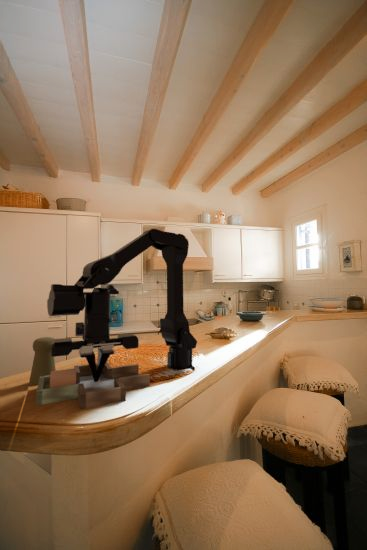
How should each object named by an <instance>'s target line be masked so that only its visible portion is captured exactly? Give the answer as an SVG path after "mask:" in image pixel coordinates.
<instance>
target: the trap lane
mask: <svg viewBox="0 0 367 550" xmlns="http://www.w3.org/2000/svg"><path fill="white" fill-rule="evenodd" d="M96 367H97V362H96ZM139 367H140V366H139V364H138V363H135V364H126V365H119V366H112V367H111V365H110V363H109V361H107V362H106V364H105V365H104V368H103V370H102V373H101V375H100V378H99V380H98V382H94V380H93V376H92V373H91V370H90V366H89V364H88V363H87V364H80V365H78V364H77V365H74V366H73V369H74V368H75V371H76V384H75V385H68V386H61V387H55V388H50V375H47V376H40V378H39V383H38V385H37V387H36V393H35V407H36V406H42V405H48V404H54V403H59V402H65V401H70V400H75V399H78V400H77V401H78V406H79V410H84V409H90V408H95V407H99V406H105V405H109V404H110V405H111V404H114V403H115V404H116V403H120V402H126V399H127V398H126V395H127V394H126V393H127V390H133V389H139V388H145V387H146V388H147V387H151V386H150V385H151V384H150V383H151V382H150V381H151V380H150V378H151V377H150V376H151V375H150V374H149V373H143V374H139V371H140V369H139Z"/></svg>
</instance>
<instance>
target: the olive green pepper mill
mask: <svg viewBox="0 0 367 550" xmlns="http://www.w3.org/2000/svg"><path fill="white" fill-rule="evenodd" d="M55 339H56V338H54V337H51V336H49V337H48V336H46V337H45V336H44V337H39V338H36V339H34V341H33V342H32V350H33V351H34V356H33V360H32V366H31V372H30V376H29V382H28V386H29V387H31V385H36V386H38V383H39V378H40V376H47V375H50V374H51V371H57V370H56V363H55V361H56V360H55V357H53V356H51V350H52V342H53V341H54V340H55Z"/></svg>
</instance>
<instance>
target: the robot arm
mask: <svg viewBox="0 0 367 550" xmlns="http://www.w3.org/2000/svg"><path fill="white" fill-rule="evenodd" d="M189 245H190V244H189V239H188V238H187V237H186V236H185V235H184V234H182V233H175V232H169V231H163V230H160V229H158V228H151V229H148V230H145V231H143V232H142V234H140V235H138V236H137V237H135V238H134V239H133V240H131V241H129V242H128V243H127V244H125V245H123V246H122V247H120V248H119V249H118V250H116V251H114V252H113V253H111V254H109V255H107V256H103V257H101V258H99V259H96V260H94V261H90V262H89V263H86V265H85V266H84V267H83V269H82V275H80V277H79V278H78V279H77V281H76V283H75V284H73V285H65V284H59V283H53V284H51V285H50V290H49V293H48V298H47V301H46V302H47V303H46V307H47V314H48V316H49V317H60V316H62V317H63V316H64V317H65V316H78V315H80V312H81V311H83V310H84V315H83V316H84V320H83V321H82V322H81V321H80V322H75V331H74V333H75V337H82V338H81V339H82V340H75V341H74V340H73V341H72V337H66V338H65V337H64V338H54V339H55V340H54V341H53V342H52V350H51V356H53V357H54V358H55V357H64V356H65V357H66V356H69V355H70V354H71V353H72V352H73V351H75V350H76V351H77V350H78V354H79V356H80V358H85V359H86V361H87V364H89V366H90V370H91V373H92V376H93V380H94V382H98V380H99V378H100V375H101V373H102V370H103V368H104V365H105V364H106V362H108V359H109V358H110V356H111V355H114V354H115V351H114V348H115V347H117V346H118V347H119V346H123V348H124V349H126V350H130V349H138V348H139V347H140V346H139V345H140V344H139V337H137V335H135V334H133V333H118V335H117V337H110V336H111V334H110V332H111V330H110V329H111V327H110V326H111V325H110V324H111V295H119V294H120V291H118V289H116V288H115V287H114V284H111V282H112V281H113V280H114V279H115V278H116V277H117V276H118V275H119V274H120V272H121V271H122V269H123V268H124V266H126V265H127V264H128V263H130V262H131V261H132V260H134V259H135V258H136V257H137V256H140V255H141V254H142V253H144V252H145V251H147V249H149V248H151V247H152V248H154V249H155V250H158V251H161V255H162V259H163V260H164V262H165V264H166V314H165V316H164V318H161V317H160V318H159V323H160V329H159V331H158V332H159V333H161V338H162V339H163V340H164V342H165V346H168V352H167V364H166V366H167V367H168V368H169V369H172V370H173V371H183V370H188V369H189V370H194V369H195V368H196V367H195V366H194V365H193V349H196V347H197V344H198V341H197V339H196V338H195V337H194V335H193V334H192V333H191V332H190V331H191V330H190V324H189V320H188V318H187V317H186V314H185V312H184V263H185V261H186V259H187V257H188V254H189ZM104 285H107V286H106V287H98V286H104ZM84 290H92V291H84ZM96 348H97V361H96V354H95V352H94V349H96ZM96 363H97V367H96Z"/></svg>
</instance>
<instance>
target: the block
mask: <svg viewBox="0 0 367 550" xmlns="http://www.w3.org/2000/svg"><path fill="white" fill-rule="evenodd" d="M75 384H76V371H75V368H74V367H73V368H67V369H59V370H58V369H57V370H56V371H51V374H50V388H55V387H61V386H68V385H75Z"/></svg>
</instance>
